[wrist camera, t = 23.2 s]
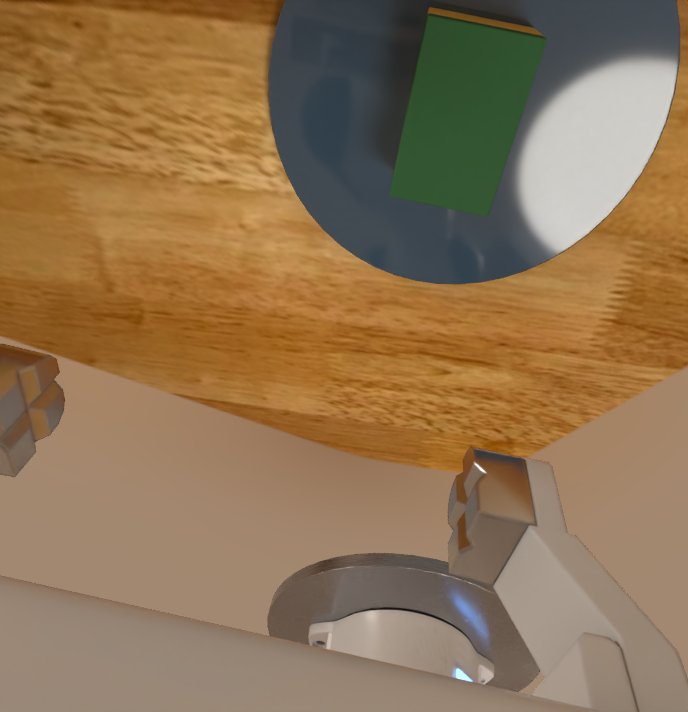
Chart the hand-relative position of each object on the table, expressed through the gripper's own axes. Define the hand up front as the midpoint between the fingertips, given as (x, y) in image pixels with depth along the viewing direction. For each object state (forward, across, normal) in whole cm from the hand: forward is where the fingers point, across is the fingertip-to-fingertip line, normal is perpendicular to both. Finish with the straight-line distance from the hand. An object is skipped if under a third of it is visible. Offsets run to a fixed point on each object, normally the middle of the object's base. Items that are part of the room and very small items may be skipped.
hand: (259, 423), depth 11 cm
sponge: (+20, -4, -3) cm, 20 cm away
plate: (+21, -4, -2) cm, 21 cm away
